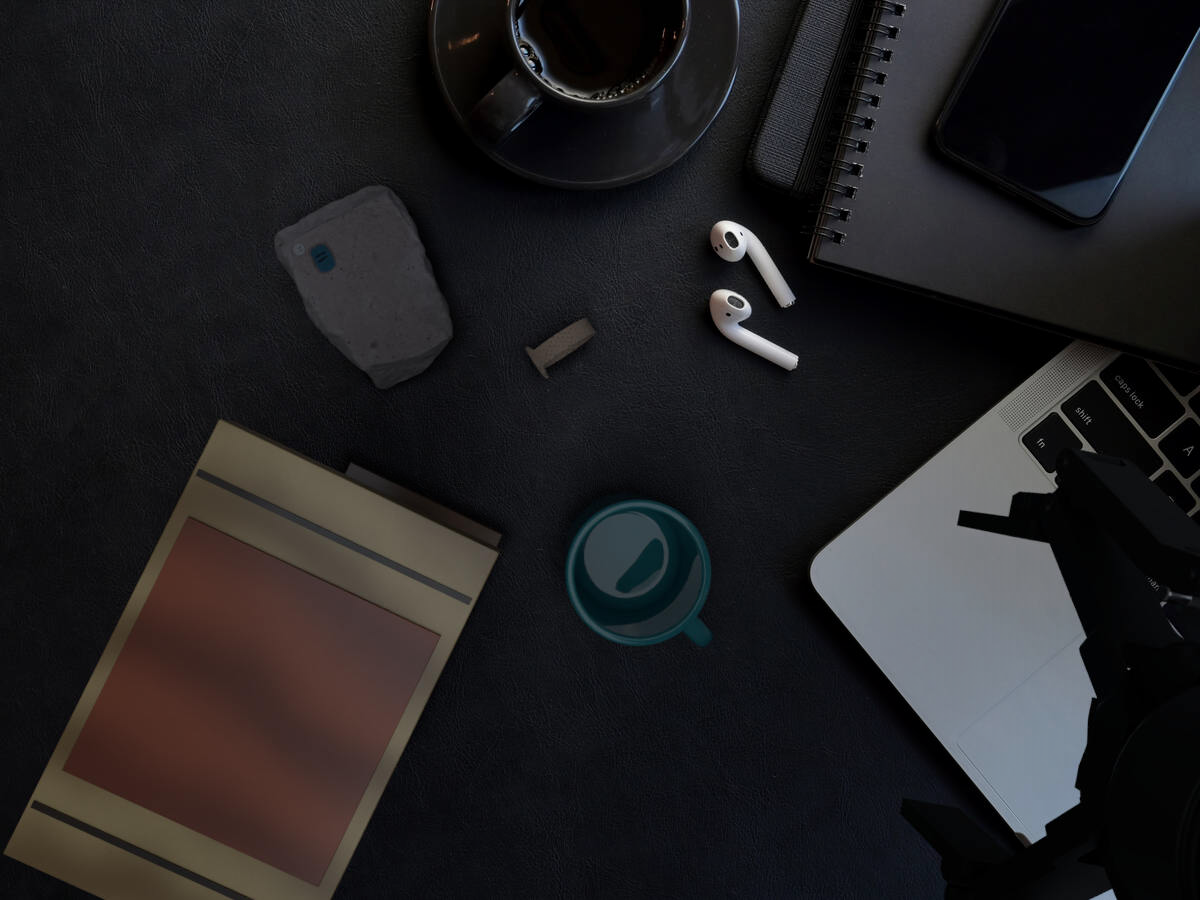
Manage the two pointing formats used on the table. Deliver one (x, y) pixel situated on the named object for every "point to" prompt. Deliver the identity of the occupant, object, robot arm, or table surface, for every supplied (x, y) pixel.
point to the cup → (637, 571)
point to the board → (254, 685)
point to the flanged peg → (560, 345)
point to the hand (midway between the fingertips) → (957, 666)
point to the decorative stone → (369, 284)
